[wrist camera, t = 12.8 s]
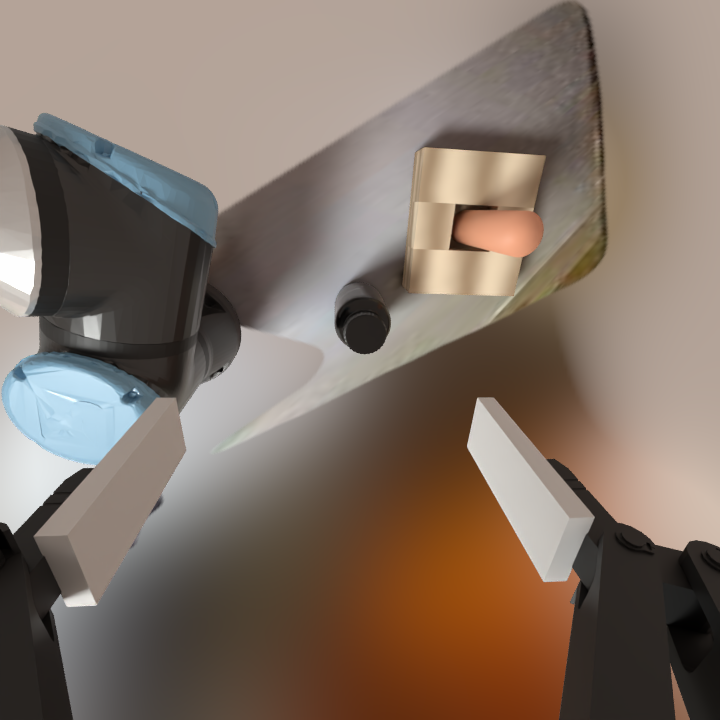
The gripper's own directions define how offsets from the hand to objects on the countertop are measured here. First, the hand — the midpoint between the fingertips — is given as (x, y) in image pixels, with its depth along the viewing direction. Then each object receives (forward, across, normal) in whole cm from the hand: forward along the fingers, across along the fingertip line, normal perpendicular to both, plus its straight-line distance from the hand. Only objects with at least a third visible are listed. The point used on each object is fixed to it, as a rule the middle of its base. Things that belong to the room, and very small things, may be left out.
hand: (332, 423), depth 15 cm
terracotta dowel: (+33, +17, +7) cm, 38 cm away
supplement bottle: (+35, +4, -4) cm, 35 cm away
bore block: (+35, +17, +7) cm, 39 cm away
